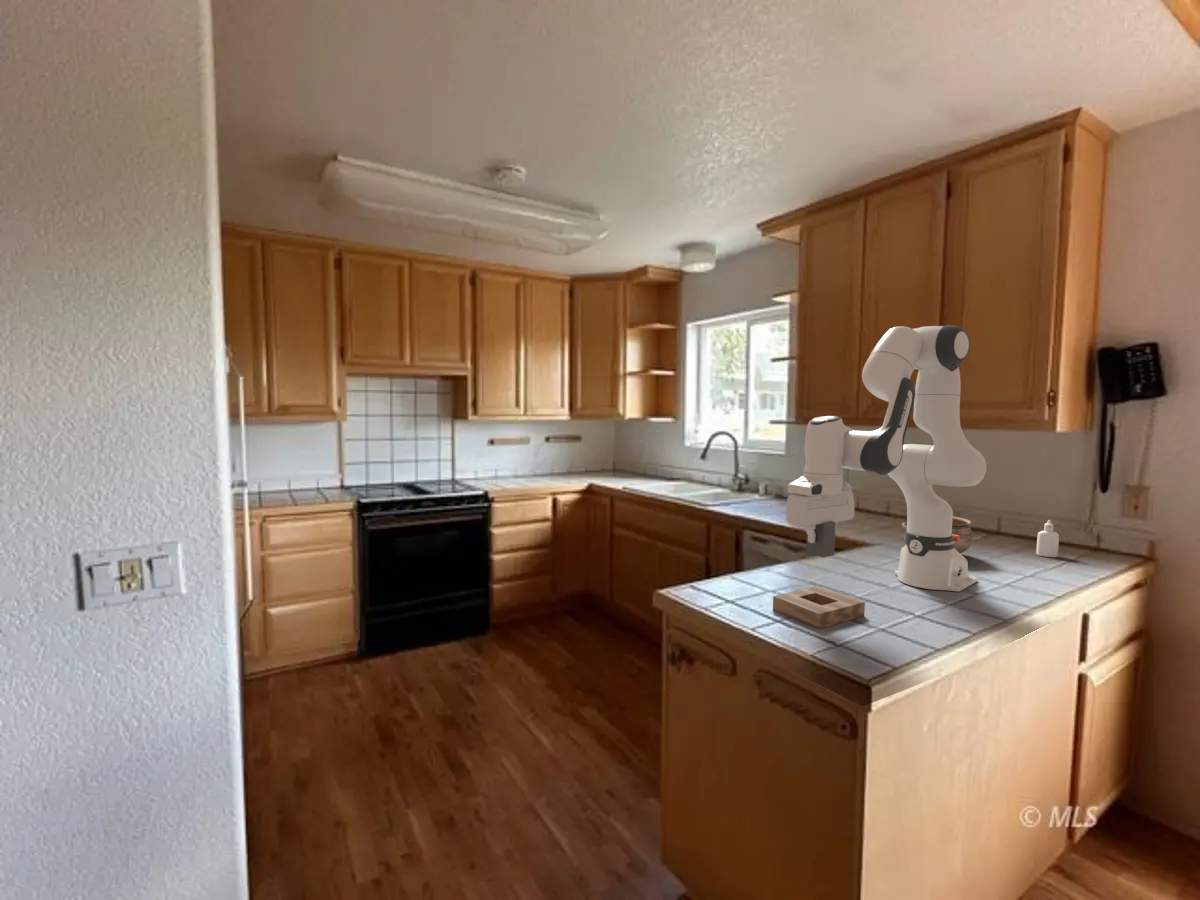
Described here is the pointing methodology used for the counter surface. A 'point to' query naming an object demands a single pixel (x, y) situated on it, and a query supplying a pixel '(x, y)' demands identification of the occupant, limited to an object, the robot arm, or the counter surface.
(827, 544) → the block
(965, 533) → the cooking pot
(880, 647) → the counter surface
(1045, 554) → the eye dropper bottle
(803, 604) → the dock
